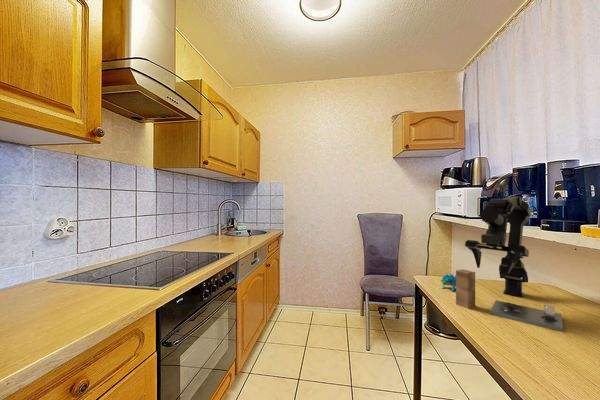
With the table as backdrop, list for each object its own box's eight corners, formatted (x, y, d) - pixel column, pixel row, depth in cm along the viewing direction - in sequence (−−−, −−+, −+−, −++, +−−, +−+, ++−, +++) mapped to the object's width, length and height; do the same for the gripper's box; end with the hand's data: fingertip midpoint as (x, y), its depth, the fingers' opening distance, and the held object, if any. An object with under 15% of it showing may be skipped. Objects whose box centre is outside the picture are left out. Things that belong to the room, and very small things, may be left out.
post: (463, 302, 101) (463, 269, 101) (475, 306, 97) (475, 272, 97) (455, 304, 99) (455, 270, 100) (467, 308, 95) (467, 273, 95)
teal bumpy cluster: (472, 287, 115) (463, 273, 111) (469, 299, 112) (460, 285, 108) (446, 284, 123) (437, 271, 120) (443, 295, 120) (434, 282, 117)
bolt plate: (495, 303, 101) (495, 289, 101) (561, 317, 88) (561, 302, 88) (490, 314, 90) (490, 299, 91) (563, 331, 78) (563, 314, 78)
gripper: (462, 222, 102) (456, 261, 99) (522, 226, 87) (518, 271, 84) (472, 230, 109) (467, 266, 105) (530, 234, 94) (527, 277, 90)
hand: (492, 270), depth 96 cm, fingers open, 9 cm apart
